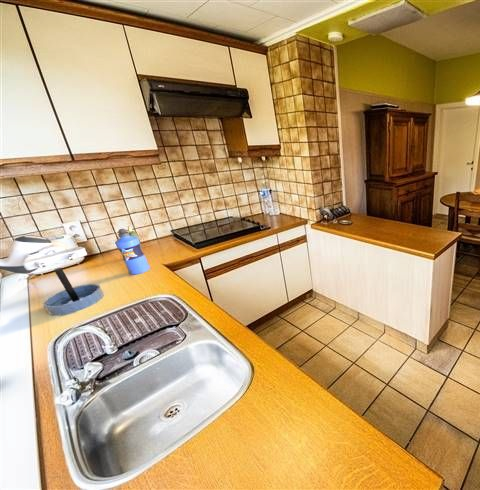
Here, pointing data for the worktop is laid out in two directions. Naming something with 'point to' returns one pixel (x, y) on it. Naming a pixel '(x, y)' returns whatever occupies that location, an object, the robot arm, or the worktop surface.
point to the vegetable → (133, 234)
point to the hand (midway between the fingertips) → (57, 262)
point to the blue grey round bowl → (61, 306)
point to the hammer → (67, 285)
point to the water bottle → (132, 253)
